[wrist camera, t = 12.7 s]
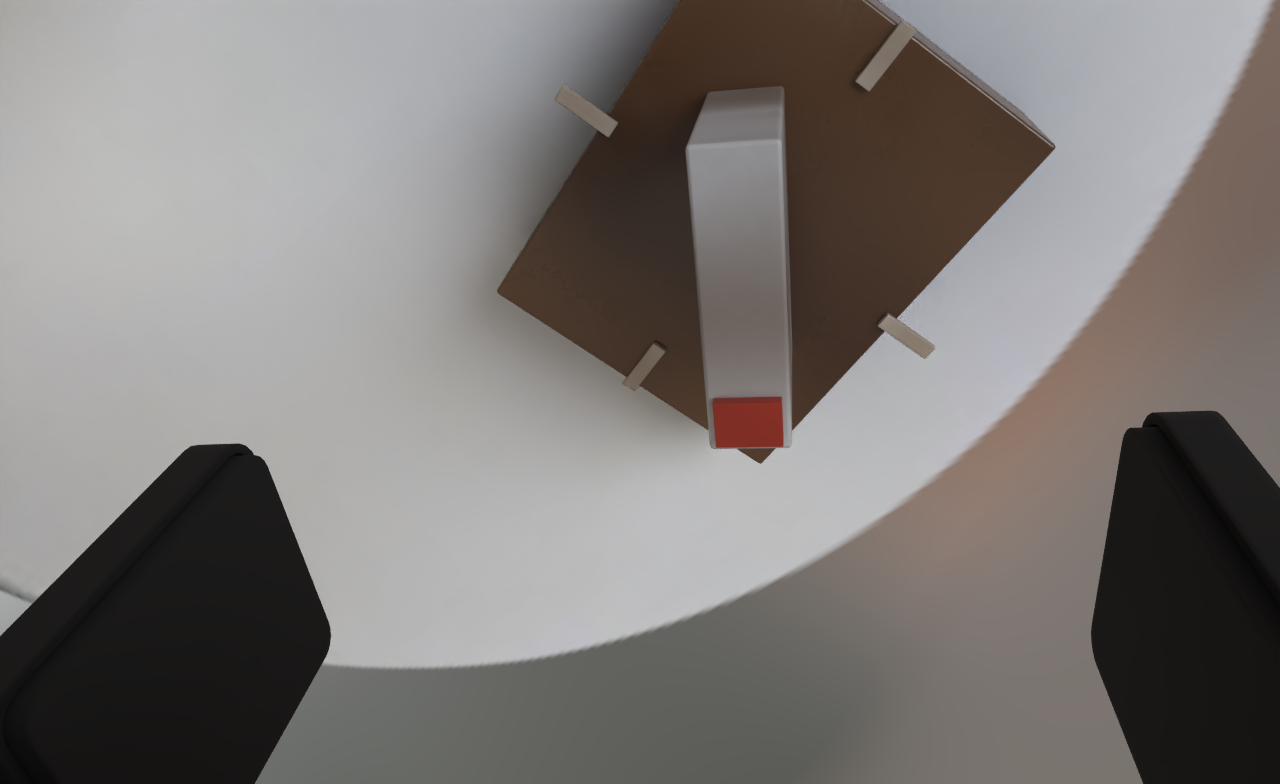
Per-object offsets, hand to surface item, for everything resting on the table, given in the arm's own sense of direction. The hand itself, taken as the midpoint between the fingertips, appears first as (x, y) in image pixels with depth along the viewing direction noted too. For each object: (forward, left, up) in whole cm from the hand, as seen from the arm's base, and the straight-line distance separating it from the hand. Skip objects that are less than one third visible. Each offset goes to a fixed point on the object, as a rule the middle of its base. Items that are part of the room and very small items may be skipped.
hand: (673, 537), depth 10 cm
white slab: (0, +1, -12) cm, 12 cm away
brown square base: (0, +1, -15) cm, 15 cm away
